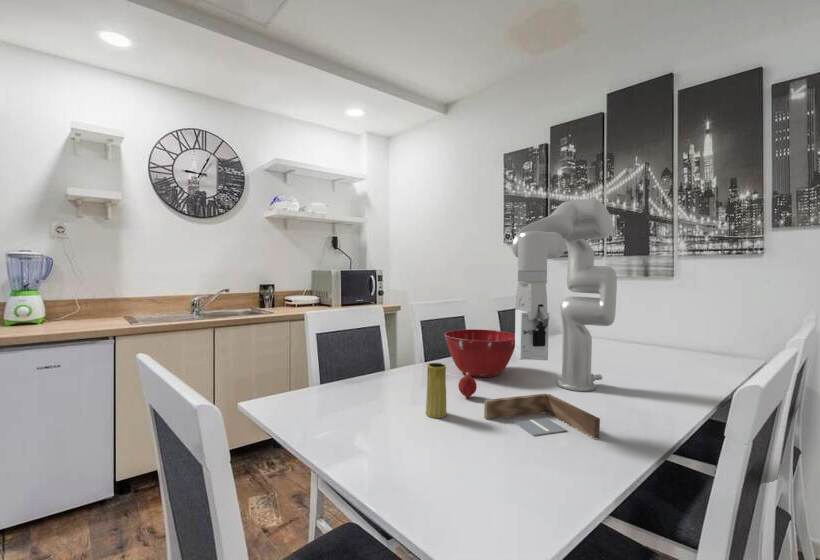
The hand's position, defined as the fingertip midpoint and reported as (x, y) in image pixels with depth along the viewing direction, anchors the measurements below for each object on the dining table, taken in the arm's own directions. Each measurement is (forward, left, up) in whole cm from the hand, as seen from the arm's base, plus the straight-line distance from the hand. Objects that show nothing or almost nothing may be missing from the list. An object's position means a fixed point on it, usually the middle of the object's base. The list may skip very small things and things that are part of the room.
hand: (531, 342), depth 111 cm
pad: (-1, +3, -22) cm, 22 cm away
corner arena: (0, +4, -22) cm, 22 cm away
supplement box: (0, 0, -4) cm, 4 cm away
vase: (+22, -13, -22) cm, 34 cm away
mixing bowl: (-11, -50, -22) cm, 56 cm away
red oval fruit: (+7, -24, -22) cm, 34 cm away
